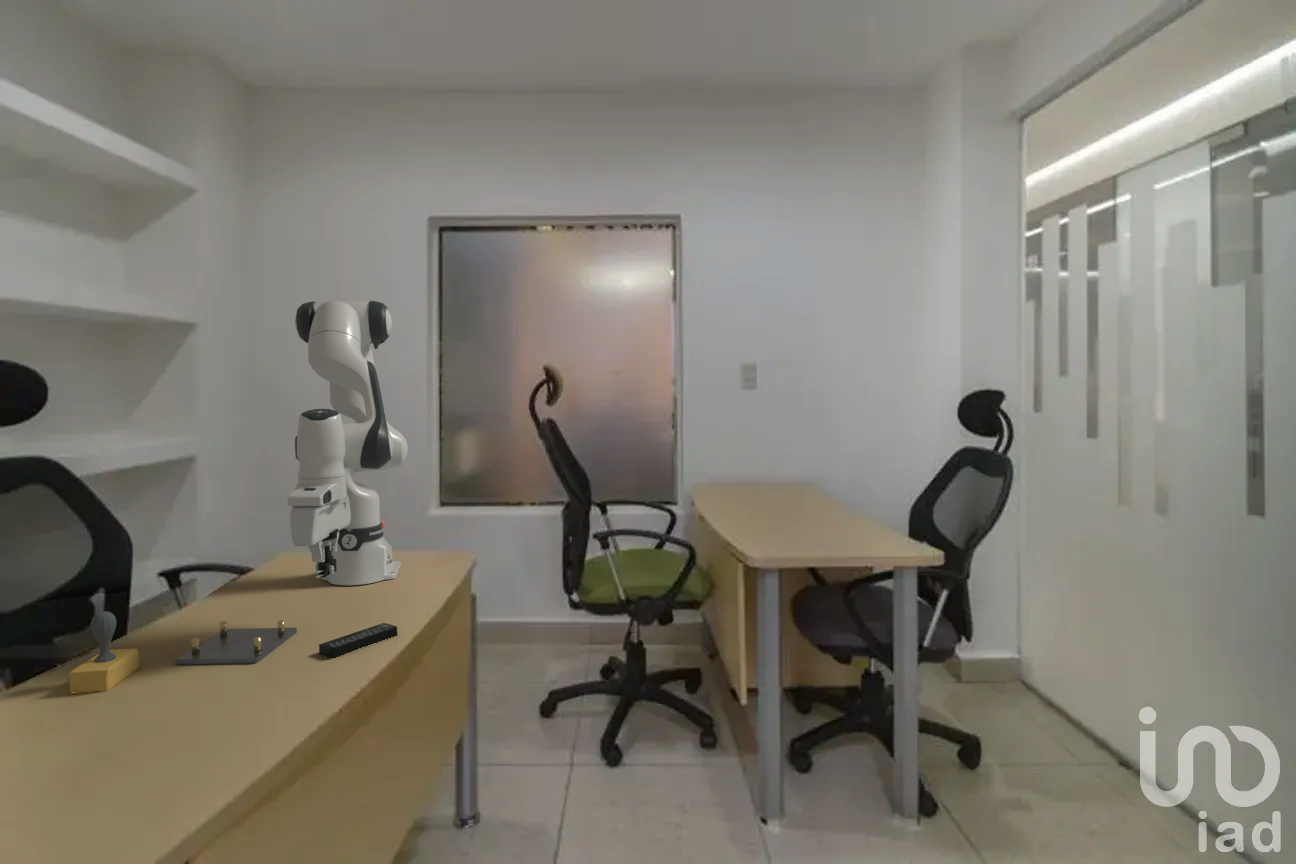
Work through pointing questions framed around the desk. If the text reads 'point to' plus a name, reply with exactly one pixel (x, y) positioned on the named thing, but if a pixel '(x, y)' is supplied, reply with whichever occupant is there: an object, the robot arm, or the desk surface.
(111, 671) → the rubber stamp
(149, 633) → the desk surface
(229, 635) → the chassis
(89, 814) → the desk surface
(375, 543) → the robot arm
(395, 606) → the desk surface
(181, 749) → the desk surface
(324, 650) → the multiport hub
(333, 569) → the push button
